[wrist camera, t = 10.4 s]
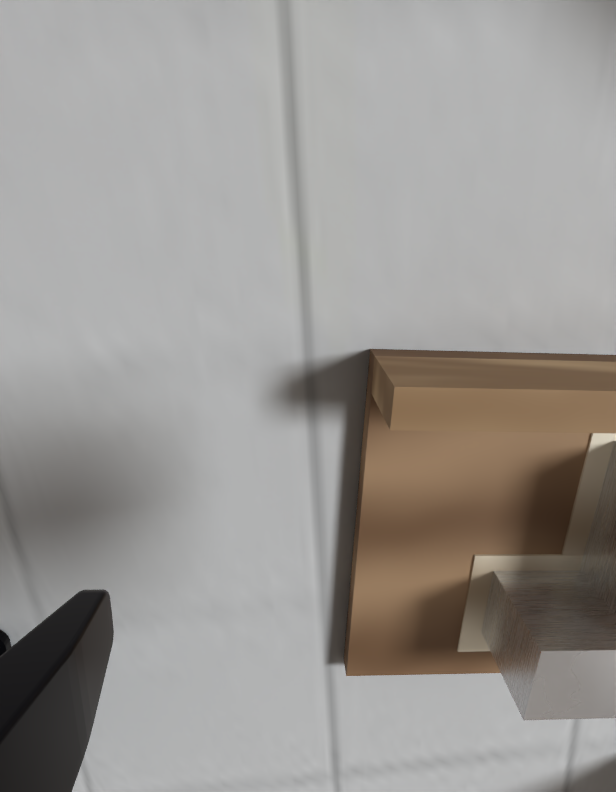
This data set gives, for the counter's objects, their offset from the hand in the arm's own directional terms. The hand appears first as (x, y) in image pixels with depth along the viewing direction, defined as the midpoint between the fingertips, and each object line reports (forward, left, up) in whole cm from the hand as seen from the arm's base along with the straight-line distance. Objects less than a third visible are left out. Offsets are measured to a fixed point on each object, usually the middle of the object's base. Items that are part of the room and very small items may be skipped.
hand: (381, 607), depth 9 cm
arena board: (-7, -12, -13) cm, 19 cm away
